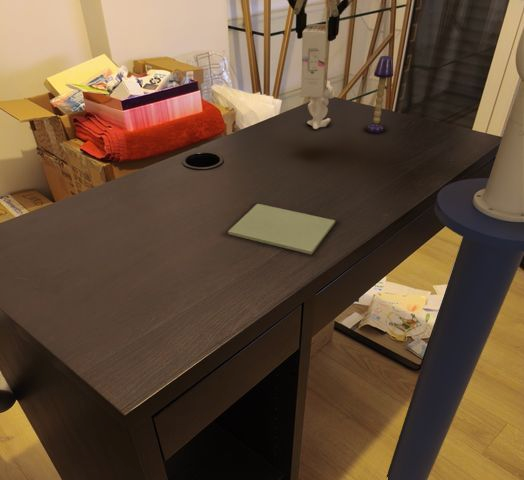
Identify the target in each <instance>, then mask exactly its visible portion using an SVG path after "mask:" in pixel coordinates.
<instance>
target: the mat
mask: <svg viewBox="0 0 524 480" xmlns="http://www.w3.org/2000/svg"><path fill="white" fill-rule="evenodd" d="M335 224H336V220H335V219H331V218H326V217H321V216H317V215H312V214H308V213H304V212H303V213H302V212H298V211H294V210H289V209H285V208H280V207H276V206H270V205H266V204H261V203H256V204H255V205H254V206H253V207H252V208H251V209H250V210H249V211H248V212H247V213H246V214H245V215H243V217H241V218H240V219H239V221H237V222H236V223H235V224H234V225H233V226H232V227H231V228H229V230H228V231H227V234H228V235H230V236H234V237H238V238H241V239H247V240H250V241H254V242H258V243H263V244H266V245H272V246H274V247H275V246H276V247H279V248H282V249H283V248H284V249H287V250H291V251H295V252H299V253H303V254H307V255H313V253H314V252H315V251H316V250H317V248H318V247H319V246H320V244H321V243H322V241H323V240H324V239H325V237H326V235H328V233H329V232H330V231H331V230H332V228H333V227H334V226H335Z"/></svg>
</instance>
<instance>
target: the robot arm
mask: <svg viewBox="0 0 524 480" xmlns="http://www.w3.org/2000/svg"><path fill="white" fill-rule="evenodd" d="M286 1H287V2H288V3H287V4H288V5H289V6H290V8H291V9H292V11H293V14H294V15H295V33H296V38H297V39H298V40H300V39H303V33H302V32H303V31H304V29H305V28H306V27H307V25H308V23H307V21H308V14H307V12H306V8H307V5H308V1H309V0H286ZM353 1H354V0H328V3H329V8H330V7H331V17H328V20H329V26H328V41H330V42H333V41H334V40H336V39H337V36H338V35H339V33H340V19H341V15H342V14H343V13H344V11H345V10H346V9H347V8H348V7H349V6H350V5H351V4H352V3H353ZM515 51H516V52H515V68H516V72H517V74H518V76H519V78H520V80H521V83H520V86H519V88H518V90H517V93H516V96H515V99H514V101H513V105H512V107H511V110H510V113H509V117H508V119H507V122H506V124H505V128H504V131H503V134H502V137H501V140H500V143H499V146H498V149H497V152H496V155H495V159H494V162H493V164H492V167H491V171H490V174H489V176H488V178H489V179H488V182H487V185H486V188H485V189H482V190H480V191H478V192H476V194H475V195H474V198H473V204H474V206H475V207H476V209H477V210H479V211H480V212H482V213H483V214H485V215H487V216H490V217H492V218H496V219H499V220H503V221H509V222H524V27H523V28H522V32H521V34H520V37H519V40H518V43H517V47H516V50H515Z"/></svg>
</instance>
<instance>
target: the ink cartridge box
mask: <svg viewBox="0 0 524 480" xmlns="http://www.w3.org/2000/svg"><path fill="white" fill-rule="evenodd" d="M331 13H332V12H331V7H330V6H329V8H328V9H327V10H326V12H325V24H324V23H320V24H319V23H307V25H306V28H305V29H304V31H303V32H302V33H303V38H302V45H301V47H302V48H301V79H300V80H301V84H300V85H301V86H300V89H301V90H300V97H301V98H311V97H320V98H322V97H323V96H324V93H325V90H326V86H327V81H328V71H329V61H330V46H331V45H330V44H331V41H328V26H329V17H331Z"/></svg>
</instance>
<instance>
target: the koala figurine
mask: <svg viewBox="0 0 524 480" xmlns="http://www.w3.org/2000/svg"><path fill="white" fill-rule="evenodd" d="M335 97H336V93H335V90H334V87H333V86H332V85H331V82H330V80H327V86H326V90H325V93H324V96H323V97H322V98H320V97H310V99H311V100H310V102H309V103H308V104H307V110H308V112H309V114H310V115H311V116H312V119H310V120H307V121H306V124H307V125H309V126H311V127H312V129H313V130H318V129H319V128H326V127H327V126H328V124H330V122H331V118H329V117H328V118H325V117H326V116H327V114H328V113H329V107H327V106H329V102H330V101H329V100H331V99H334V98H335ZM324 118H325V119H324Z"/></svg>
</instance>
